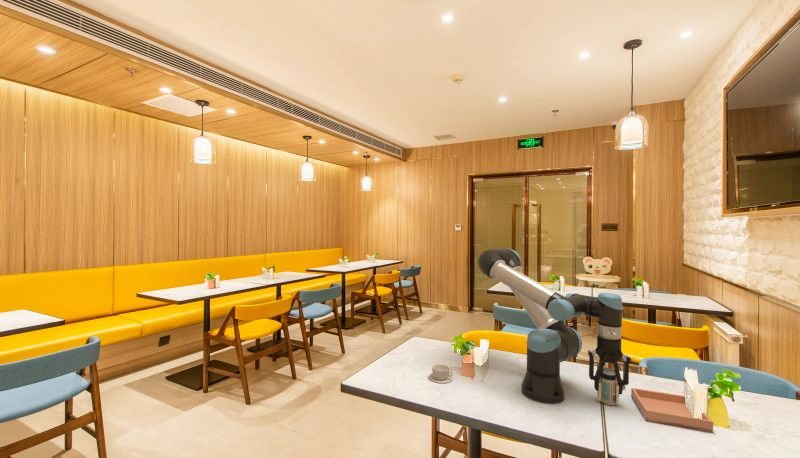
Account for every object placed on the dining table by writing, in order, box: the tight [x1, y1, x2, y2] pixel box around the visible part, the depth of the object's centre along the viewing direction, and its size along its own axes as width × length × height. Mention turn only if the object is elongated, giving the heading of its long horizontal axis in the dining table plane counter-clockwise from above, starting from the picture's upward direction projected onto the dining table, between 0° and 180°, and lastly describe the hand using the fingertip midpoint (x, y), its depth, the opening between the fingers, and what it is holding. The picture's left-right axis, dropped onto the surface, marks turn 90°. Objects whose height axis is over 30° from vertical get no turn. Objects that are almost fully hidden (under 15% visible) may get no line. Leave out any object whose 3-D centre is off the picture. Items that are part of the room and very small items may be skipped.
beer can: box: [600, 367, 616, 406], centre depth 125 cm, size 5×5×12 cm
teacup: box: [428, 363, 454, 384], centre depth 143 cm, size 10×10×5 cm
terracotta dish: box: [630, 387, 714, 434], centre depth 119 cm, size 18×18×4 cm
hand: (607, 400), depth 125 cm, fingers closed on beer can, 5 cm apart
